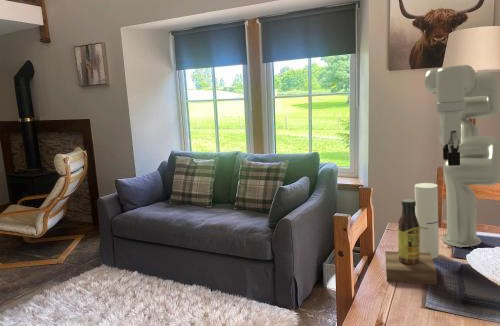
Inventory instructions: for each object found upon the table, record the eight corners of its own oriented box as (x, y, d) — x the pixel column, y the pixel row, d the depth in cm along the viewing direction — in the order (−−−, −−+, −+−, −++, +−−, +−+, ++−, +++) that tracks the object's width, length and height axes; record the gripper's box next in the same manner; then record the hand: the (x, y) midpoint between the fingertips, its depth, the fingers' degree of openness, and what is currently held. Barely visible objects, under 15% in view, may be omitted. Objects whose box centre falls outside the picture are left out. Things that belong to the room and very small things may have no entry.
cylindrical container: (441, 258, 127) (440, 187, 123) (419, 258, 128) (417, 188, 124) (435, 250, 134) (434, 182, 130) (414, 250, 135) (412, 183, 131)
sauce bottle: (410, 267, 114) (408, 204, 111) (394, 260, 120) (392, 200, 117) (425, 261, 117) (423, 200, 114) (408, 255, 123) (406, 196, 120)
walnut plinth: (385, 262, 128) (385, 251, 127) (430, 264, 124) (430, 252, 123) (386, 281, 115) (386, 269, 114) (436, 284, 110) (436, 271, 110)
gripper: (433, 107, 123) (434, 157, 126) (440, 110, 107) (441, 168, 110) (459, 105, 121) (459, 156, 124) (470, 108, 105) (470, 167, 108)
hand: (451, 162), depth 117 cm, fingers open, 9 cm apart
